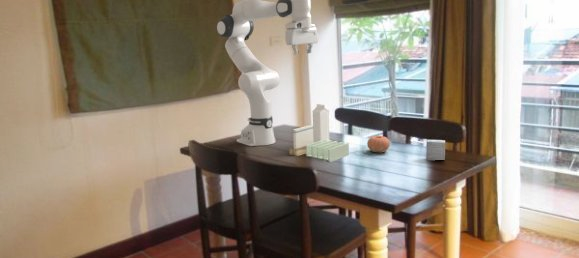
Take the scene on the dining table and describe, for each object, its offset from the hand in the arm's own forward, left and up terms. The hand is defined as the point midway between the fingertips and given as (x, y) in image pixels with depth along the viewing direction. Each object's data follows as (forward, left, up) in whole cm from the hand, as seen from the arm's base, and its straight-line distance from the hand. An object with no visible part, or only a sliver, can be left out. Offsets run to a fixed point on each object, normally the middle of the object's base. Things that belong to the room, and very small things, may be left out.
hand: (302, 53), depth 226 cm
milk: (+1, +11, -48) cm, 49 cm away
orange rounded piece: (+30, +19, -48) cm, 60 cm away
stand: (+2, -4, -48) cm, 48 cm away
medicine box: (+58, +22, -48) cm, 79 cm away
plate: (+2, -4, -47) cm, 47 cm away
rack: (+15, -2, -48) cm, 50 cm away
